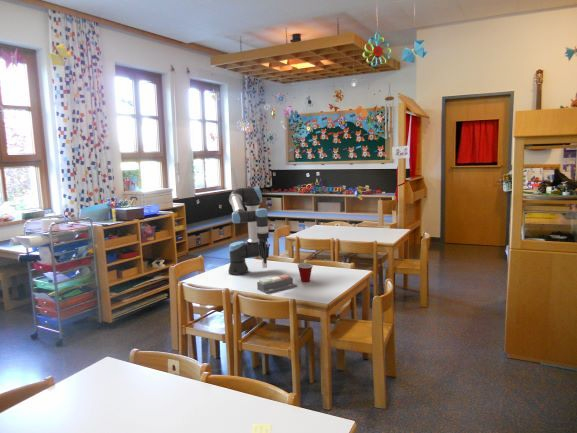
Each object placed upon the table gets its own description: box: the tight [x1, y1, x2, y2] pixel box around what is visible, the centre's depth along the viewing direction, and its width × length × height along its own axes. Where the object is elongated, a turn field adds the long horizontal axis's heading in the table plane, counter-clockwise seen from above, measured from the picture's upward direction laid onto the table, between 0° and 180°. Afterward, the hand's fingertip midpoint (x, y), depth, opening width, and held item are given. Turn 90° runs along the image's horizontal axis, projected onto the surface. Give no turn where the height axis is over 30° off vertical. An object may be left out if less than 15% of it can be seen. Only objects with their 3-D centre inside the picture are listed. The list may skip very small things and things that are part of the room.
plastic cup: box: [297, 262, 314, 283], centre depth 304 cm, size 11×11×12 cm
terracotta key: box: [277, 273, 291, 280], centre depth 298 cm, size 6×6×3 cm
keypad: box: [256, 276, 298, 295], centre depth 292 cm, size 13×23×5 cm, turn 123°
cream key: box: [268, 276, 281, 282], centre depth 294 cm, size 6×6×3 cm
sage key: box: [258, 278, 272, 284], centre depth 290 cm, size 6×6×3 cm
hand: (264, 267), depth 288 cm, fingers closed
